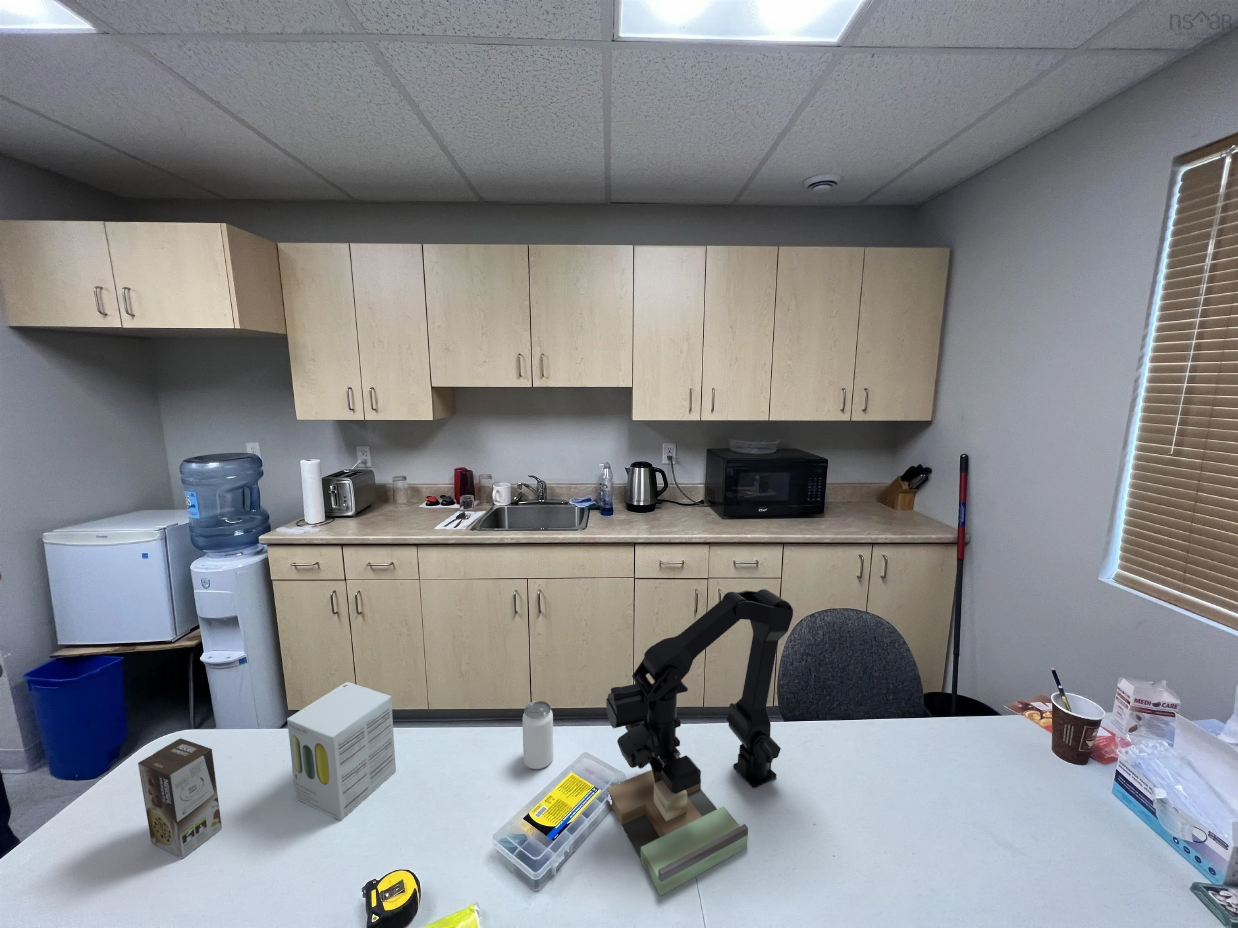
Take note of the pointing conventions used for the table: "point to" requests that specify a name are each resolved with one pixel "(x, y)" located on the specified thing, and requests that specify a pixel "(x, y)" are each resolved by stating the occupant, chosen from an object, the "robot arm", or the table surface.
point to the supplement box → (342, 748)
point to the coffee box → (180, 796)
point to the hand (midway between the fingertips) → (659, 785)
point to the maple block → (669, 801)
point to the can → (538, 735)
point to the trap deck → (675, 832)
